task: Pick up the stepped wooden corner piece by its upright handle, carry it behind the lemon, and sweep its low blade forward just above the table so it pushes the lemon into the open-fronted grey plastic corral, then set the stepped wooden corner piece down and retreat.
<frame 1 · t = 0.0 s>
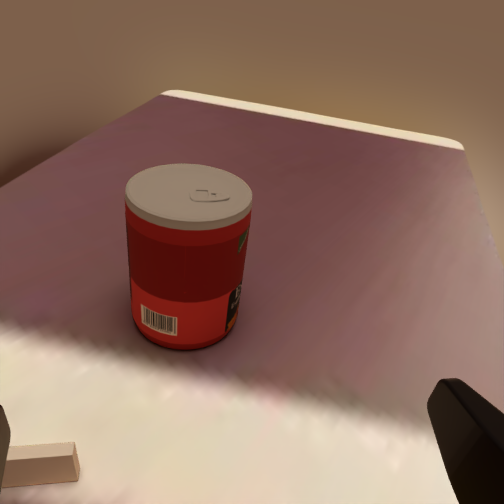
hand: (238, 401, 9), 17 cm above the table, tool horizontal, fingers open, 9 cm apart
canned food: (185, 317, 34), on the table
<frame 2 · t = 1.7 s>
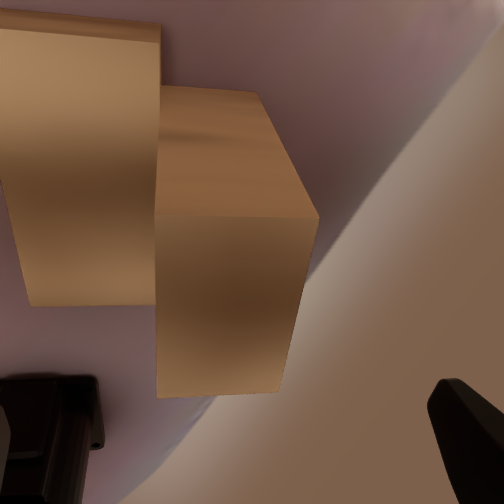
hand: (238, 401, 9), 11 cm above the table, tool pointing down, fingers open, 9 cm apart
stepped wooden corner piece: (205, 163, 18), on the table
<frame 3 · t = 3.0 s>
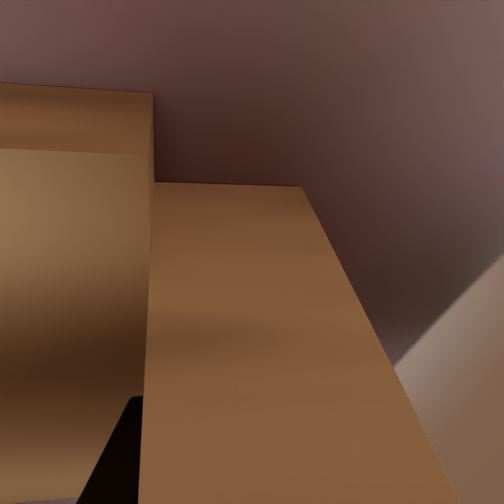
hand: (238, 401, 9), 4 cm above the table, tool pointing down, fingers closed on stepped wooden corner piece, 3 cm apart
stepped wooden corner piece: (220, 282, 12), on the table, touching gripper
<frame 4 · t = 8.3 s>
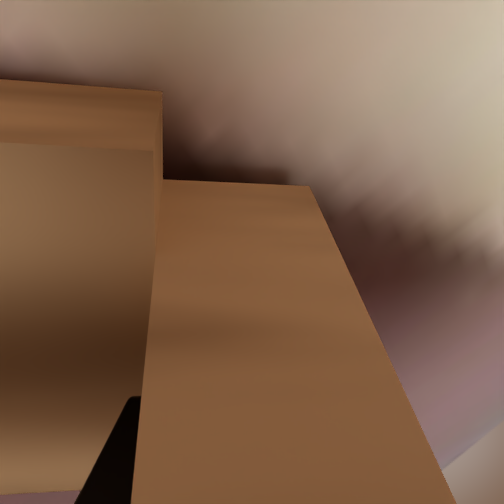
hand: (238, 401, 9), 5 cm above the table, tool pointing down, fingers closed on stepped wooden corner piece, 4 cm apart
stepped wooden corner piece: (228, 280, 12), point 1 cm above the table, touching gripper, lemon
when the fingers open (4 cm above the table, at t = 10.5 s): stepped wooden corner piece stays where it is, on the table.
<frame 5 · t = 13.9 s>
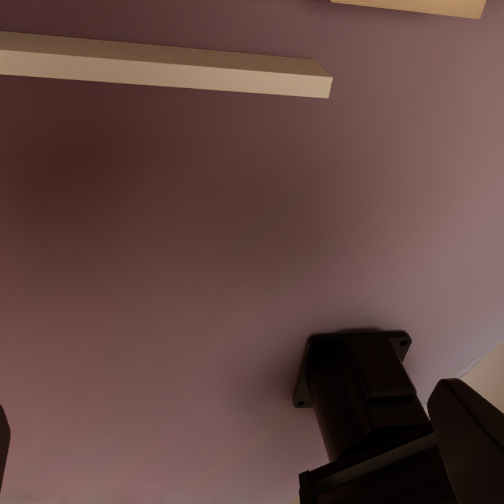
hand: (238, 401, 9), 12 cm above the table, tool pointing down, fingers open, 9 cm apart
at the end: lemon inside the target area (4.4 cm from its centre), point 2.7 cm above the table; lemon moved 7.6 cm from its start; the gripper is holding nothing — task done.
